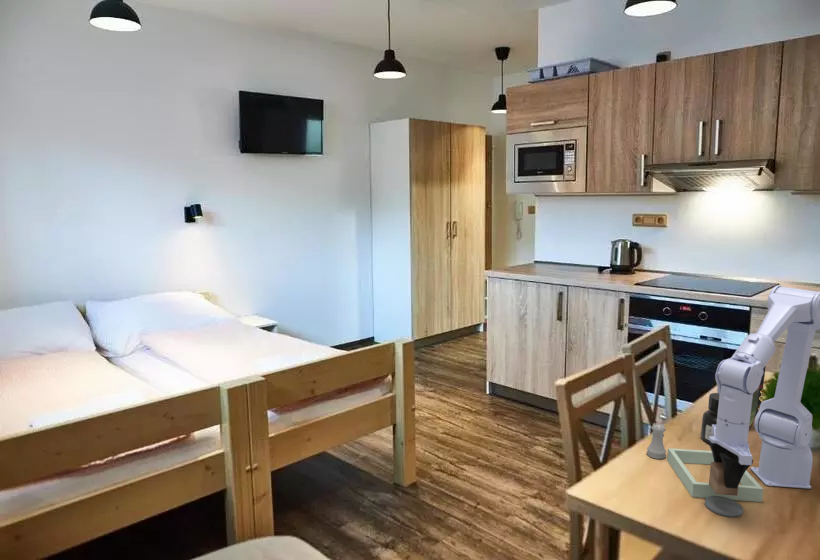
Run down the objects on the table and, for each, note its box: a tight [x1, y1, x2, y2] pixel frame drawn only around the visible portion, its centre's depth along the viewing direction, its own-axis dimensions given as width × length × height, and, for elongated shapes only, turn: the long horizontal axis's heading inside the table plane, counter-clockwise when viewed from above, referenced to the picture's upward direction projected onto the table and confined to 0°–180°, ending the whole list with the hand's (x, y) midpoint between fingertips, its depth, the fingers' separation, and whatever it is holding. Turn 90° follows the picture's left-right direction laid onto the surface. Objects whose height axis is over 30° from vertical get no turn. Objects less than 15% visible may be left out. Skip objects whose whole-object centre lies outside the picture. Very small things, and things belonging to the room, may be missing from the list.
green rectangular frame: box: [666, 447, 764, 503], centre depth 131 cm, size 14×17×3 cm
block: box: [708, 462, 738, 496], centre depth 118 cm, size 4×4×5 cm
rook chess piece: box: [646, 422, 667, 460], centre depth 142 cm, size 4×4×8 cm
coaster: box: [704, 496, 744, 518], centre depth 119 cm, size 7×7×1 cm
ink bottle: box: [700, 392, 720, 444], centre depth 150 cm, size 10×9×12 cm
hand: (726, 481), depth 118 cm, fingers closed on block, 4 cm apart
